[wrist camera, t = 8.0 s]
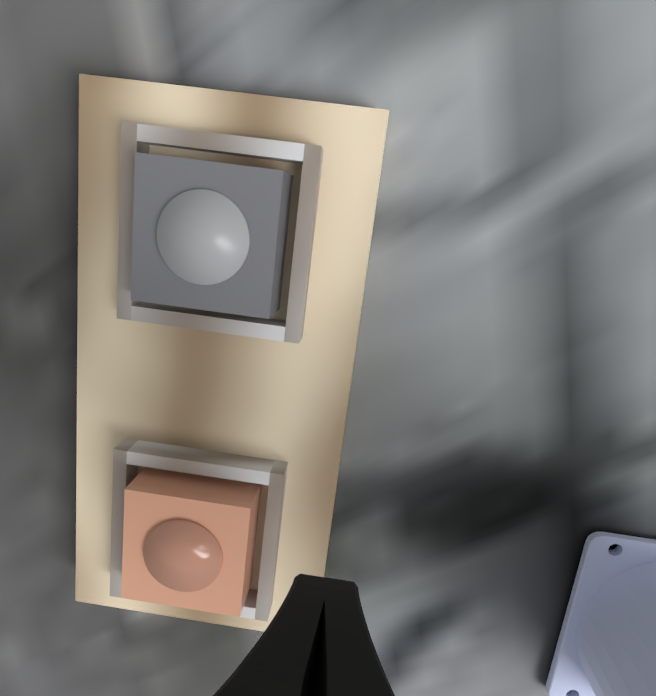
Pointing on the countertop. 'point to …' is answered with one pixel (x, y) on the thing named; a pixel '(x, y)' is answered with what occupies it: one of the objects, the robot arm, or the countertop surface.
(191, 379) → the button mount
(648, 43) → the countertop surface
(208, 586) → the button terracotta
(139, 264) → the button charcoal
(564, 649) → the robot arm
